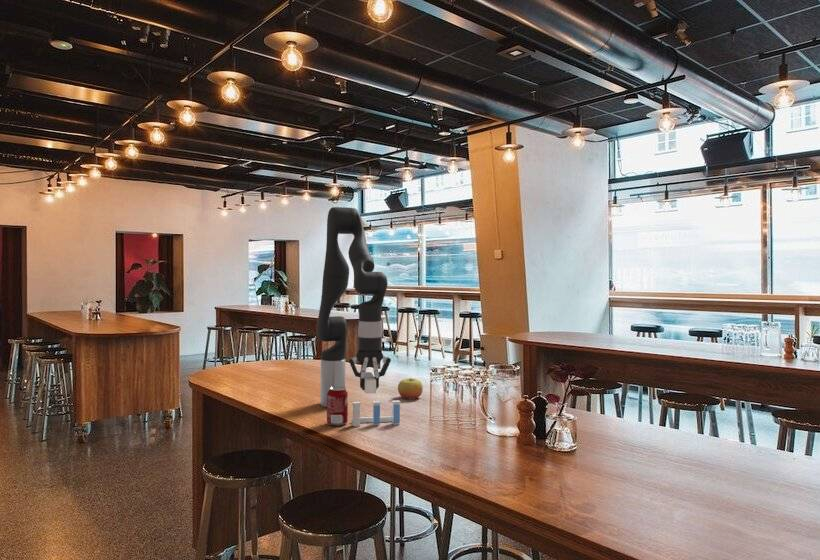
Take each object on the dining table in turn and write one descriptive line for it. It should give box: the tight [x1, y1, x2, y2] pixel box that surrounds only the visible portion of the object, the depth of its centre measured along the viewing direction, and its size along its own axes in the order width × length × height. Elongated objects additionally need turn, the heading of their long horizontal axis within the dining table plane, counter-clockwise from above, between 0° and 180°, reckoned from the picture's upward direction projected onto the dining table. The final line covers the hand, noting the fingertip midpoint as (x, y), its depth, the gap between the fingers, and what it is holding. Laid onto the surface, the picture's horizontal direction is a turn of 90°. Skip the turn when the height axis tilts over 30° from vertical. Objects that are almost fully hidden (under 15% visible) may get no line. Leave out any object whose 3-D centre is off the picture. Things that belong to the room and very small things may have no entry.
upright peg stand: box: [351, 399, 401, 427], centre depth 187 cm, size 5×16×8 cm, turn 101°
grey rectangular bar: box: [363, 371, 377, 395], centre depth 180 cm, size 13×3×4 cm, turn 11°
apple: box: [397, 378, 424, 400], centre depth 225 cm, size 10×10×8 cm
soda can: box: [326, 386, 349, 427], centre depth 186 cm, size 7×7×12 cm
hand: (369, 389), depth 178 cm, fingers closed on grey rectangular bar, 3 cm apart
